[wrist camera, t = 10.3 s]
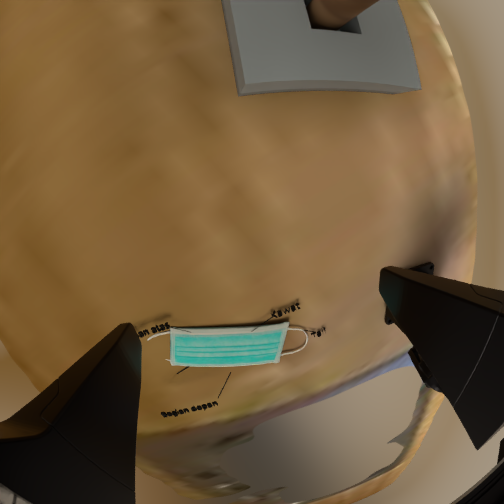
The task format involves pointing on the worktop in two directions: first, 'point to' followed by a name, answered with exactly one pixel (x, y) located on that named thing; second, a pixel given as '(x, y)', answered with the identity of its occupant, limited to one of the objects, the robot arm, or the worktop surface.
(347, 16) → the dowel
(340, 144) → the worktop surface
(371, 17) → the hole block
